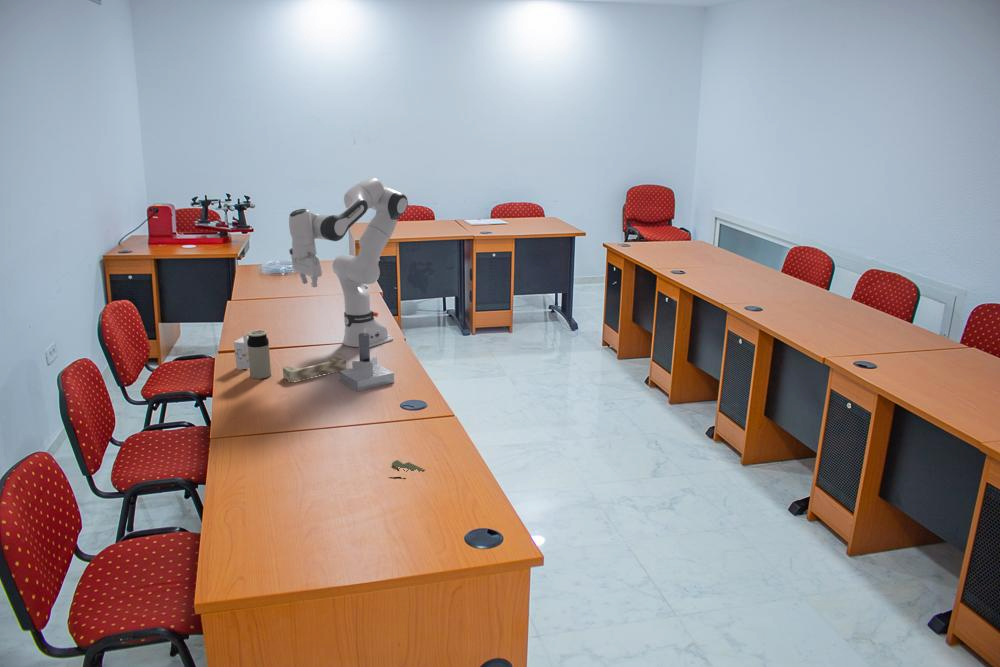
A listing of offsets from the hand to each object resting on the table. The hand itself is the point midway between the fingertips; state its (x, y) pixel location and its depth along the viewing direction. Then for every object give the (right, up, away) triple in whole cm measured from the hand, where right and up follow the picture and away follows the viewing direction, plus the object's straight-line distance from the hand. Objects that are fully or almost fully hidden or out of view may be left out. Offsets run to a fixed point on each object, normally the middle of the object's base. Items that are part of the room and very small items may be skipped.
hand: (309, 285), depth 315 cm
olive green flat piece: (+49, -62, -81) cm, 113 cm away
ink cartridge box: (-27, -33, +7) cm, 43 cm away
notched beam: (+2, -36, -1) cm, 36 cm away
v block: (+24, -38, -7) cm, 45 cm away
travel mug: (-19, -36, -3) cm, 41 cm away
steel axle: (+24, -34, -8) cm, 42 cm away
